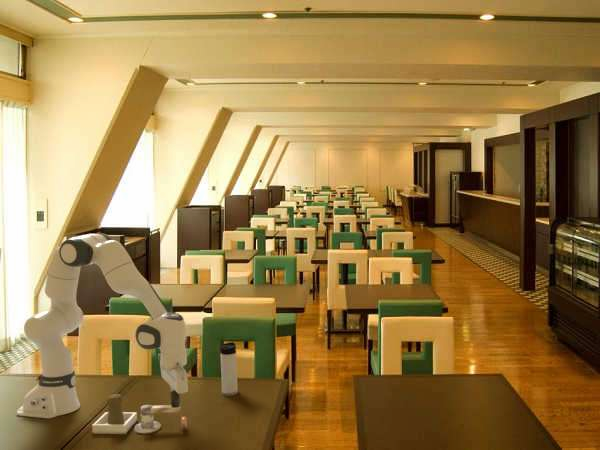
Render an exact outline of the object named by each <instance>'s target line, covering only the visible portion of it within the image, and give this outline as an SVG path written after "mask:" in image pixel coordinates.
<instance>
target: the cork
mask: <svg viewBox="0 0 600 450" xmlns="http://www.w3.org/2000/svg"><path fill="white" fill-rule="evenodd" d="M122 402H123V397H122V395H121V394H119V393H115V394H110V395H108V396H107V398H106V403H107V405H108V410H107V412H108V424H121V425H124V423H125V422H124V417H123V412H124V411H123V408H122Z"/></svg>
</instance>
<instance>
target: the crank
mask: <svg viewBox="0 0 600 450" xmlns="http://www.w3.org/2000/svg"><path fill="white" fill-rule="evenodd" d="M169 393H170V404H163V405H160V404H159V405H152V404H144V405H142V406H140V414H142V415H148V414H151V413H153V414H163V413H164V414H165V413H166V414H168V413H180V412H181V399H180V394H178V393H177V392H176V391H171V390H170V392H169Z"/></svg>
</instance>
